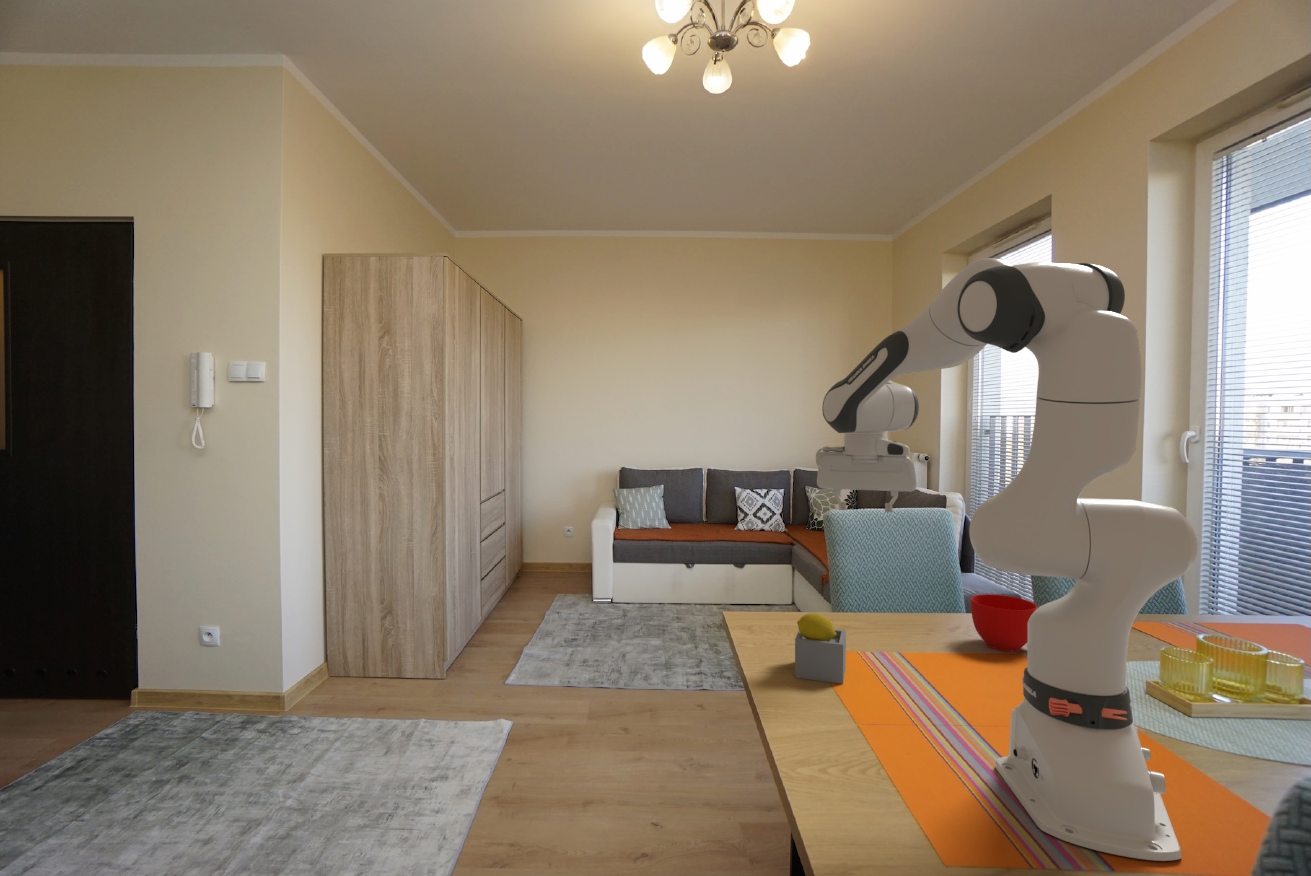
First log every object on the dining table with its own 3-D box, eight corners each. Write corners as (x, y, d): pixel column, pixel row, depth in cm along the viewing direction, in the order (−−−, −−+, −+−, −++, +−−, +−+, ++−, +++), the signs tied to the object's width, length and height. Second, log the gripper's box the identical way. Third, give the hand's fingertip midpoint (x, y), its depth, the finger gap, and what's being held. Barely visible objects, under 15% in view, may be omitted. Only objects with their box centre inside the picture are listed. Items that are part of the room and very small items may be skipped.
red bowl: (1066, 662, 125) (1066, 614, 125) (976, 652, 131) (976, 607, 131) (1048, 642, 138) (1048, 598, 138) (966, 634, 143) (966, 592, 143)
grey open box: (843, 684, 114) (843, 644, 114) (794, 677, 117) (795, 639, 117) (845, 666, 123) (845, 630, 123) (800, 661, 126) (800, 625, 126)
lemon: (840, 615, 120) (801, 602, 121) (842, 634, 115) (802, 620, 116) (830, 635, 123) (792, 623, 123) (832, 655, 118) (792, 641, 118)
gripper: (814, 446, 130) (814, 510, 130) (917, 447, 123) (916, 515, 123) (817, 446, 136) (817, 507, 136) (915, 447, 128) (915, 511, 129)
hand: (865, 511), depth 129 cm, fingers open, 8 cm apart
